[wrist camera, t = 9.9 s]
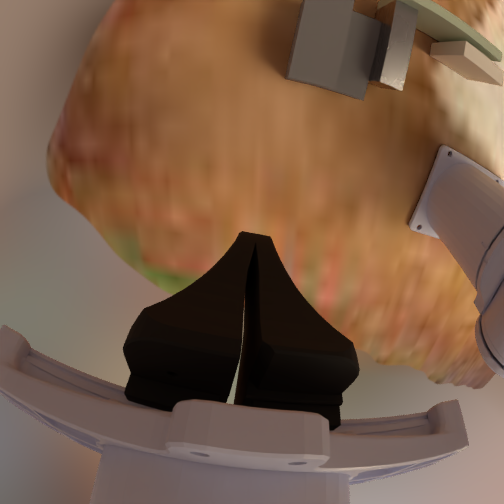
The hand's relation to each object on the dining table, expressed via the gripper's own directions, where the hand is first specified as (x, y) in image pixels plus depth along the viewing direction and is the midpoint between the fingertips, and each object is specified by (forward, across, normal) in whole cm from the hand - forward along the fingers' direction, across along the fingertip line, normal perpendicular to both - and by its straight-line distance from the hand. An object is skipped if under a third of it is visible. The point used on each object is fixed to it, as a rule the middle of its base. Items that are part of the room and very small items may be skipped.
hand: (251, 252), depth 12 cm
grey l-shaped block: (+9, -9, -12) cm, 18 cm away
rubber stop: (+10, -3, -11) cm, 15 cm away
